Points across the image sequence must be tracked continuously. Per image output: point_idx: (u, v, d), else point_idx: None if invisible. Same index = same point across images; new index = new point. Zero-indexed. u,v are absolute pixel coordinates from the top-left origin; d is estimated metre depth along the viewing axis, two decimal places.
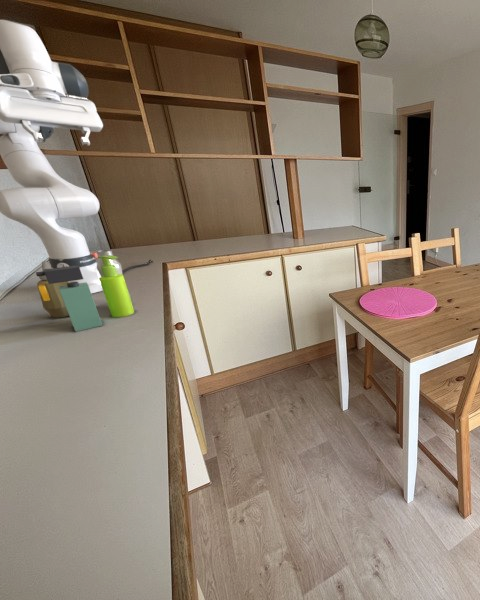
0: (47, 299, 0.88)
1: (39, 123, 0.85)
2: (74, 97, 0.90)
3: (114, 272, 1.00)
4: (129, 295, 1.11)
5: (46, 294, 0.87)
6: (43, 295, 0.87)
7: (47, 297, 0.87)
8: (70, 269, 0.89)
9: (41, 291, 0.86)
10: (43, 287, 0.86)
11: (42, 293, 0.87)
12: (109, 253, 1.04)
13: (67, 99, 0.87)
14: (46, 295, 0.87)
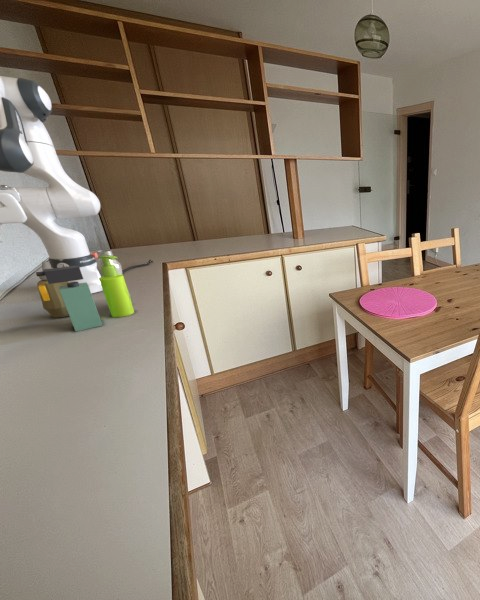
0: (47, 299, 0.88)
1: None
2: None
3: (114, 272, 1.00)
4: (129, 295, 1.11)
5: (46, 294, 0.87)
6: (43, 295, 0.87)
7: (47, 297, 0.87)
8: (70, 269, 0.89)
9: (41, 291, 0.86)
10: (43, 287, 0.86)
11: (42, 293, 0.87)
12: (109, 253, 1.04)
13: None
14: (46, 295, 0.87)
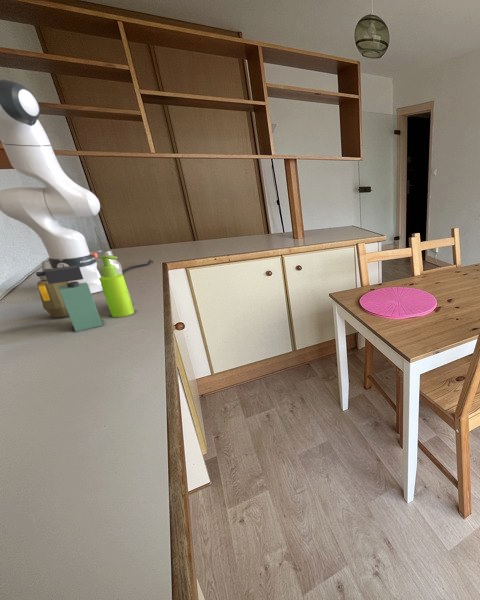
0: (47, 299, 0.88)
1: None
2: None
3: (114, 272, 1.00)
4: (129, 295, 1.11)
5: (46, 294, 0.87)
6: (43, 295, 0.87)
7: (47, 297, 0.87)
8: (70, 269, 0.89)
9: (41, 291, 0.86)
10: (43, 287, 0.86)
11: (42, 293, 0.87)
12: (109, 253, 1.04)
13: None
14: (46, 295, 0.87)
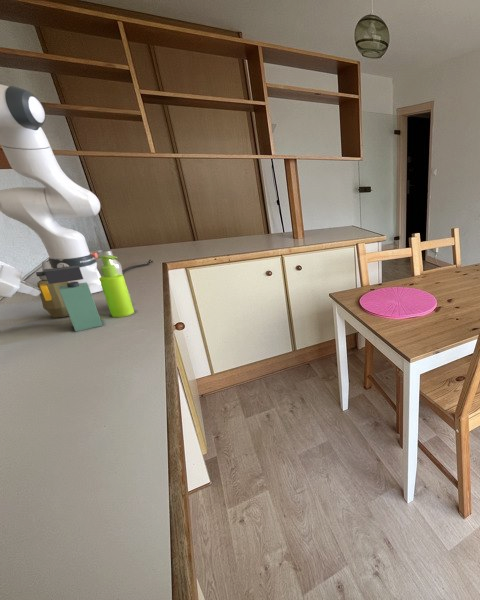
0: (49, 299, 0.88)
1: None
2: None
3: (114, 272, 1.00)
4: (129, 295, 1.11)
5: (48, 294, 0.87)
6: (45, 295, 0.87)
7: (49, 297, 0.88)
8: (70, 269, 0.89)
9: (43, 291, 0.87)
10: (45, 287, 0.87)
11: (44, 293, 0.87)
12: (109, 253, 1.04)
13: None
14: (48, 295, 0.87)
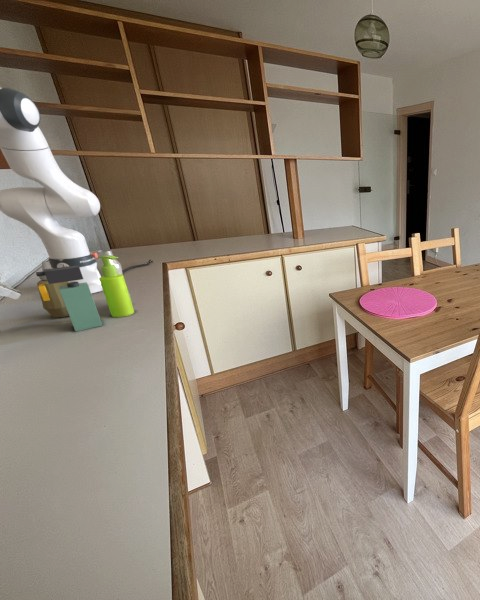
0: (47, 299, 0.88)
1: None
2: None
3: (114, 272, 1.00)
4: (129, 295, 1.11)
5: (46, 294, 0.87)
6: (43, 295, 0.87)
7: (47, 297, 0.87)
8: (70, 269, 0.89)
9: (41, 291, 0.86)
10: (43, 287, 0.86)
11: (42, 293, 0.87)
12: (109, 253, 1.04)
13: None
14: (46, 295, 0.87)
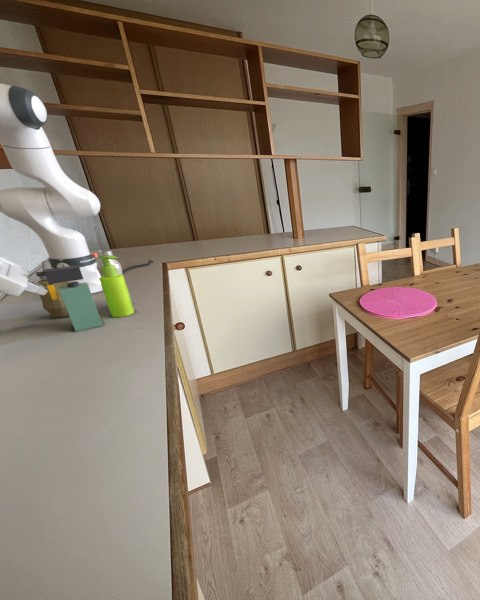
0: (55, 298, 0.89)
1: None
2: None
3: (114, 272, 1.00)
4: (129, 295, 1.11)
5: (54, 293, 0.88)
6: (51, 294, 0.88)
7: (55, 296, 0.89)
8: (70, 269, 0.89)
9: (50, 290, 0.87)
10: (52, 286, 0.88)
11: (51, 292, 0.88)
12: (109, 253, 1.04)
13: None
14: (54, 294, 0.88)
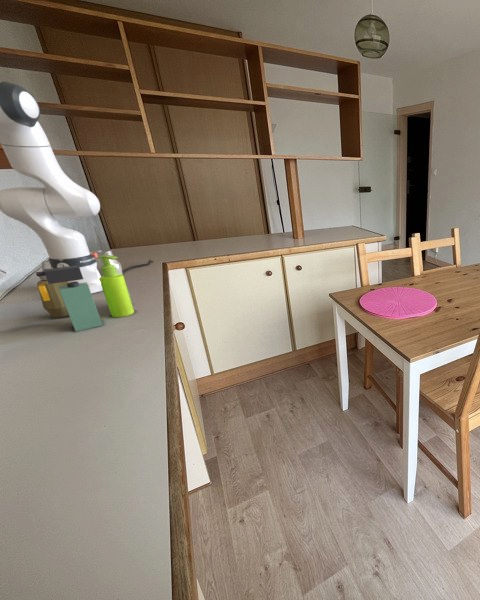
0: (47, 299, 0.88)
1: None
2: None
3: (114, 272, 1.00)
4: (129, 295, 1.11)
5: (46, 294, 0.87)
6: (43, 295, 0.87)
7: (47, 297, 0.87)
8: (70, 269, 0.89)
9: (41, 291, 0.86)
10: (43, 287, 0.86)
11: (42, 293, 0.87)
12: (109, 253, 1.04)
13: None
14: (46, 295, 0.87)
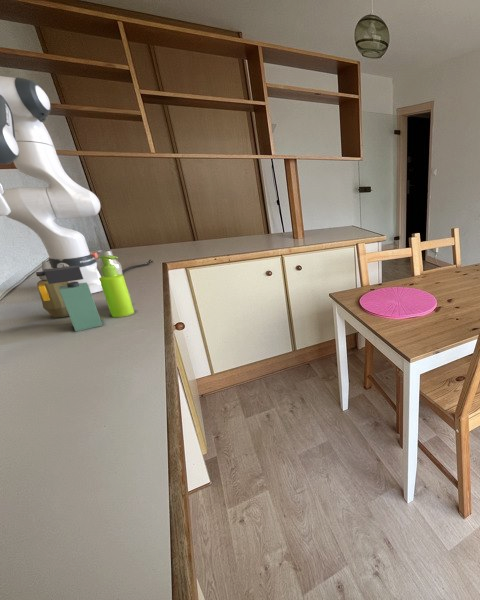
0: (47, 299, 0.88)
1: None
2: None
3: (114, 272, 1.00)
4: (129, 295, 1.11)
5: (46, 294, 0.87)
6: (43, 295, 0.87)
7: (47, 297, 0.87)
8: (70, 269, 0.89)
9: (41, 291, 0.86)
10: (43, 287, 0.86)
11: (42, 293, 0.87)
12: (109, 253, 1.04)
13: None
14: (46, 295, 0.87)
